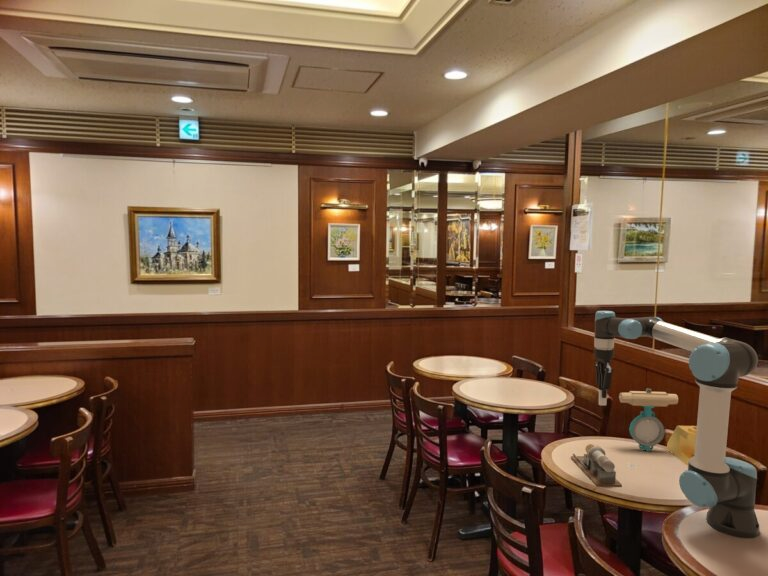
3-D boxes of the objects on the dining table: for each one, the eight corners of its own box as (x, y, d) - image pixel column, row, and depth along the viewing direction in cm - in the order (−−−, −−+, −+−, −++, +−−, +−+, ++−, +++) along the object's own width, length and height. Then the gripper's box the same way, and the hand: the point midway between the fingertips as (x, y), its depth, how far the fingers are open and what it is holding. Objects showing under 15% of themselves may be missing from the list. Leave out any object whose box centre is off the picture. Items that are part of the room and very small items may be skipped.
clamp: (711, 468, 227) (713, 432, 226) (689, 467, 228) (691, 431, 227) (686, 450, 247) (688, 417, 246) (667, 449, 248) (668, 416, 246)
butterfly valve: (671, 448, 249) (674, 387, 246) (677, 454, 242) (681, 391, 239) (613, 445, 251) (616, 385, 249) (618, 451, 244) (621, 389, 242)
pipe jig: (621, 487, 207) (623, 459, 206) (596, 487, 207) (598, 459, 206) (591, 458, 236) (593, 433, 235) (570, 457, 236) (571, 433, 235)
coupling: (603, 469, 220) (604, 446, 220) (586, 469, 220) (588, 446, 220) (598, 463, 226) (599, 441, 225) (581, 463, 226) (582, 441, 225)
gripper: (620, 351, 207) (618, 409, 208) (606, 345, 220) (604, 400, 222) (601, 351, 207) (599, 409, 209) (588, 345, 220) (587, 400, 222)
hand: (602, 404), depth 215 cm, fingers closed
